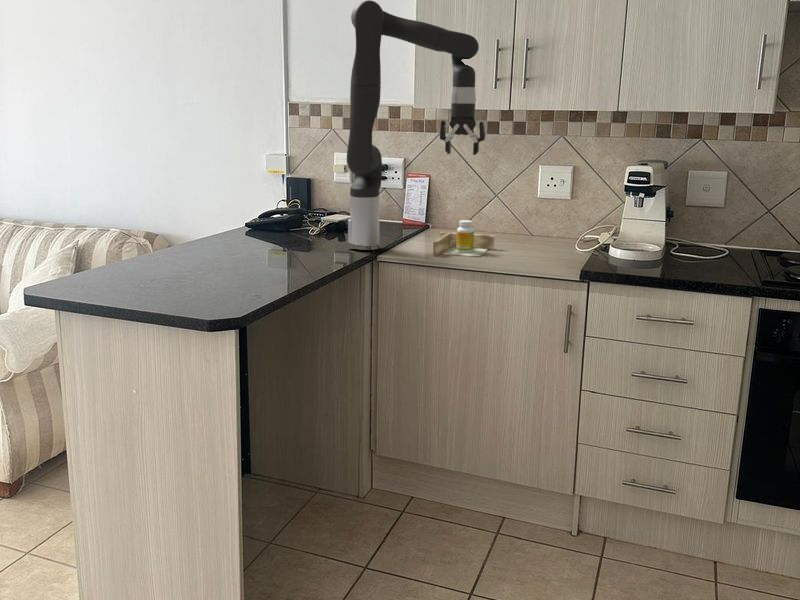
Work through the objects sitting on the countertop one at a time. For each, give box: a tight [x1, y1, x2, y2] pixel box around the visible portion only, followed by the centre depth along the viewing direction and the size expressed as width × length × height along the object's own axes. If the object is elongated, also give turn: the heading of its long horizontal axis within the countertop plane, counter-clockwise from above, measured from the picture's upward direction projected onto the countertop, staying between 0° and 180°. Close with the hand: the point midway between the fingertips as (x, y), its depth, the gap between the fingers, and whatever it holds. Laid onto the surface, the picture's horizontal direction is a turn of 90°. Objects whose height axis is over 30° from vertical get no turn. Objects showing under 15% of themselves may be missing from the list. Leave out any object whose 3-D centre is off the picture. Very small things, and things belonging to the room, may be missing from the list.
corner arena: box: [432, 231, 495, 258], centre depth 253 cm, size 18×17×4 cm
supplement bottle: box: [456, 219, 475, 253], centre depth 252 cm, size 5×5×10 cm
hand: (461, 154), depth 254 cm, fingers open, 8 cm apart
